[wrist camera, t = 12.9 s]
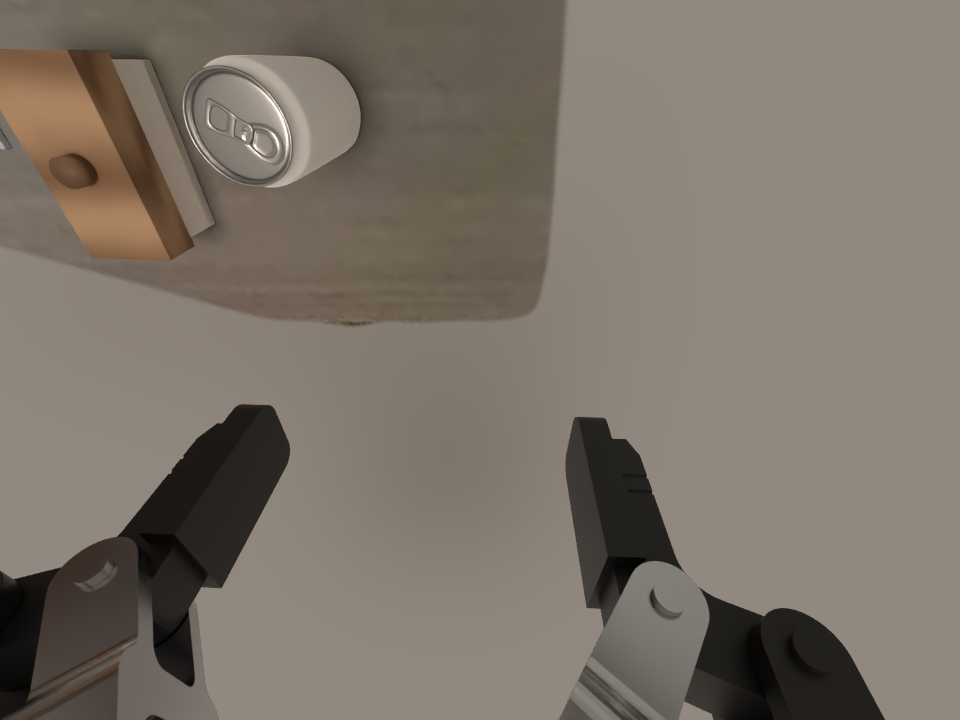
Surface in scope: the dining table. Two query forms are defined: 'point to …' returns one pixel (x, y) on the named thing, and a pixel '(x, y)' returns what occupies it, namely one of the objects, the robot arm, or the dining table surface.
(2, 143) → the mat
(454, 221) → the dining table surface
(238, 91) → the can
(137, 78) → the dish
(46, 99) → the lid
